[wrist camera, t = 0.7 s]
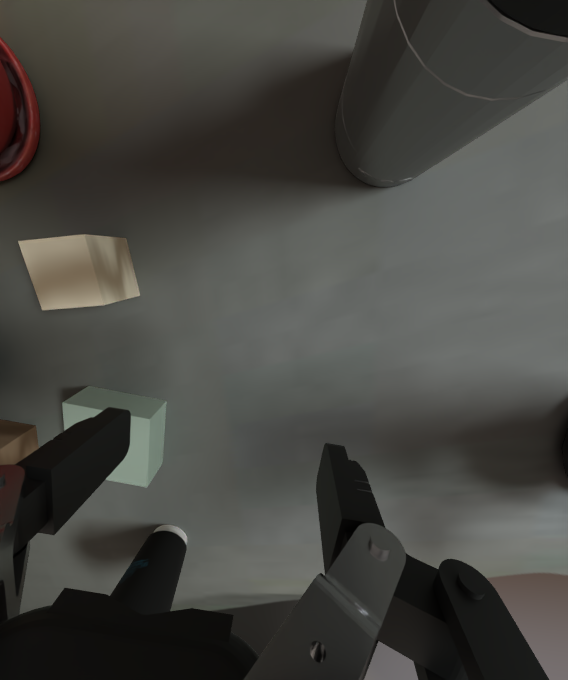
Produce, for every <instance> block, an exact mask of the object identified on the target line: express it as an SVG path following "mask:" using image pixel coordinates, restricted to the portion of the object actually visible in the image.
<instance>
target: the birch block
mask: <svg viewBox="0 0 568 680" xmlns="http://www.w3.org/2000/svg"><path fill="white" fill-rule="evenodd" d="M18 243H19V246H20V249H21V252H22V254H23V257H24V260H25V263H26V266H27V268H28V271H29V274H30V277H31V280H32V283H33V285H34V288H35V291H36V294H37V297H38V299H39V302H40V305H41V308H42V310H53V309H65V308H76V307H88V306H100V305H107V304H110V303H114V302H118V301H122V300H126V299H129V298H133V297H137V296H140V293H139V289H138V285H137V280H136V276H135V272H134V268H133V264H132V260H131V256H130V252H129V248H128V244H127V240H126V238H119V237H108V236H97V235H86V234H82V235H73V236H63V237H54V238H44V239H35V240H25V241H18Z"/></svg>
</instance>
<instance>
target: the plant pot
mask: <svg viewBox="0 0 568 680" xmlns="http://www.w3.org/2000/svg"><path fill="white" fill-rule="evenodd" d="M39 135H40V115H39V108H38V104H37V99H36V96H35V93H34V90H33V87H32V85H31V82H30V80H29V78H28V76H27V74H26V72H25V70H24V68H23V66H22V65H21V63H20V61H19V60H18V58H17V57H16V56H15V54H14V53H13V51H12V50H11V49H10V48H9V46H8V45H7V44H6V43H5V42H4V41H3V40H2V38H1V37H0V181H4V180H7V179H9V178H12V177H13V176H15V175H17V174H19V173H20V172H22V171H23V170H24V168H25V167H26V166H27V165H28V164H29V163H30V161H31V159H32V158H33V156H34V154H35V151H36V149H37V145H38V142H39Z"/></svg>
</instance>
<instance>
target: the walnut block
mask: <svg viewBox="0 0 568 680" xmlns="http://www.w3.org/2000/svg"><path fill="white" fill-rule="evenodd" d="M38 448H39V447H38V439H37V431H36V426H35V425H29V424H24V423H18V422H12V421H7V420H1V419H0V465H6V464H12V465H15V464H16V463H18V462H19V461H21V460H22V459H24V458H25V457H27V456H28V455H30V454H31V453H33V452H34V451H36V450H37V449H38Z"/></svg>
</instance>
